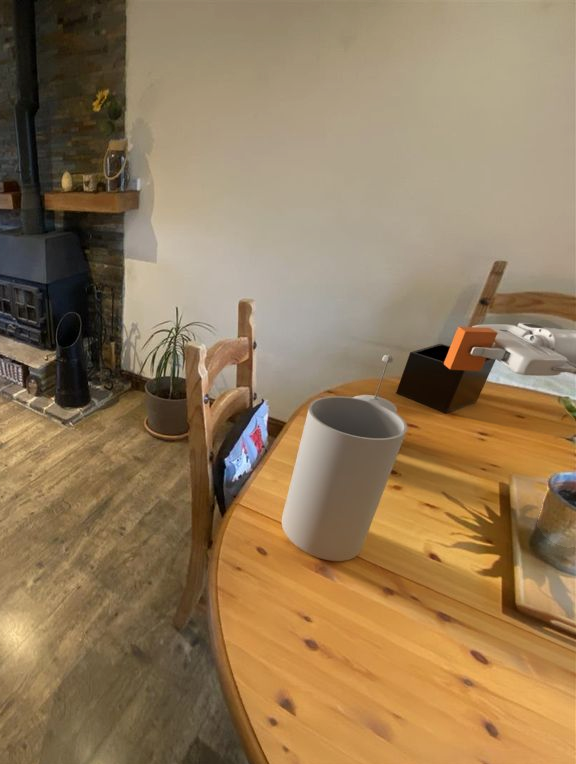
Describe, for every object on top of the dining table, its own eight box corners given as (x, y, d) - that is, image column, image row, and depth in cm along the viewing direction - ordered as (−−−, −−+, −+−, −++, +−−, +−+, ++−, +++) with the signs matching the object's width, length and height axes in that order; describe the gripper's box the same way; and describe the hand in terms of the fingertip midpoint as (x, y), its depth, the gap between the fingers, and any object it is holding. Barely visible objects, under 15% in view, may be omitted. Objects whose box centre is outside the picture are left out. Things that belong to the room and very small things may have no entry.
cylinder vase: (361, 524, 76) (403, 406, 65) (360, 575, 67) (410, 449, 55) (285, 501, 82) (312, 390, 71) (275, 545, 73) (305, 425, 62)
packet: (473, 365, 93) (489, 327, 89) (480, 371, 90) (498, 332, 86) (443, 363, 94) (458, 326, 90) (449, 369, 92) (465, 331, 88)
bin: (476, 402, 110) (496, 359, 104) (446, 414, 106) (465, 369, 100) (424, 383, 120) (440, 343, 114) (395, 393, 116) (410, 352, 110)
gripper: (576, 386, 79) (486, 380, 83) (510, 346, 96) (438, 342, 100) (594, 356, 76) (499, 351, 80) (523, 320, 93) (448, 317, 97)
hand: (465, 346), depth 90 cm, fingers closed on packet, 3 cm apart
